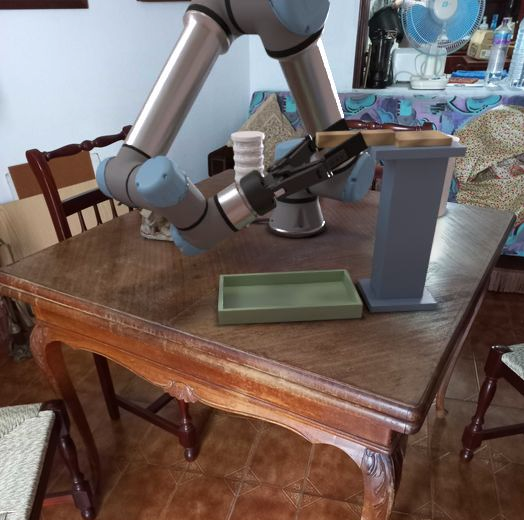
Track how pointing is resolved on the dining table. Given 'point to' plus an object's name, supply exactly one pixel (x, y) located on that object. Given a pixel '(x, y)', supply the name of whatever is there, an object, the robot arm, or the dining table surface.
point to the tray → (287, 297)
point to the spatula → (386, 138)
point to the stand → (406, 225)
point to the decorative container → (248, 153)
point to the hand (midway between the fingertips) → (355, 131)
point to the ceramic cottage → (155, 225)
